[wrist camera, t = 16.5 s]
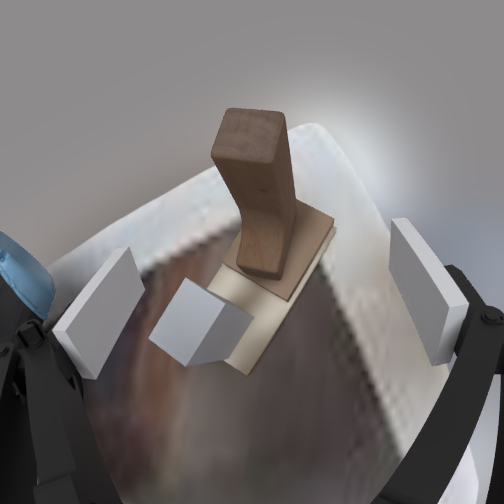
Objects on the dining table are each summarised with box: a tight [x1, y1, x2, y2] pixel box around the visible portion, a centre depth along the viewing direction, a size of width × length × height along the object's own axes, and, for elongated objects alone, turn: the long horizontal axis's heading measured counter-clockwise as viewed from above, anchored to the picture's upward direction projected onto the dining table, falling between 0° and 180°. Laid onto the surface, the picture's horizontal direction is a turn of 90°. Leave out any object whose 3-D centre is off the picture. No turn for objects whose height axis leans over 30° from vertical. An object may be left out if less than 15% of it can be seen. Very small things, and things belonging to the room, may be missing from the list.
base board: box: [207, 199, 336, 375], centre depth 39 cm, size 10×21×4 cm, turn 148°
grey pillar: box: [149, 278, 255, 367], centre depth 32 cm, size 4×6×14 cm, turn 148°
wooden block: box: [211, 108, 297, 281], centre depth 29 cm, size 9×4×18 cm, turn 166°
